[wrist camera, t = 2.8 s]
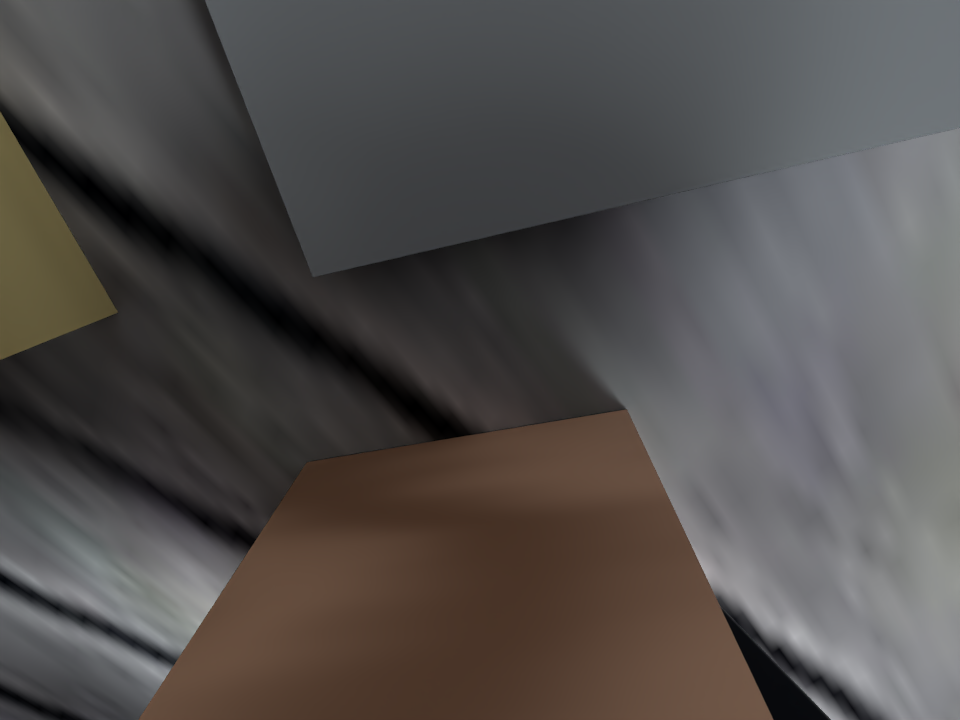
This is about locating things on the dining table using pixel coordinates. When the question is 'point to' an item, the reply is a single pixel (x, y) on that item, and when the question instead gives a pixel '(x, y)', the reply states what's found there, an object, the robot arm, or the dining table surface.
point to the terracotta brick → (470, 593)
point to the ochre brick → (39, 261)
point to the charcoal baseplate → (563, 104)
